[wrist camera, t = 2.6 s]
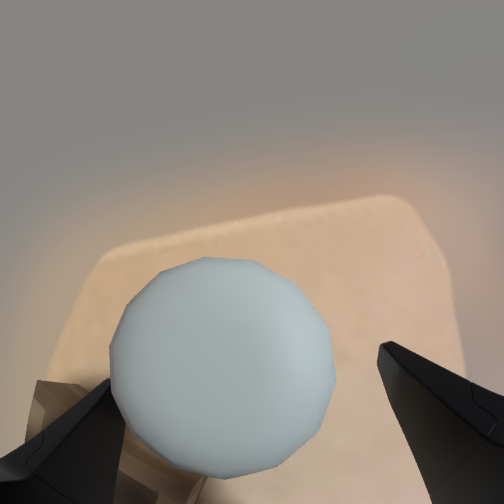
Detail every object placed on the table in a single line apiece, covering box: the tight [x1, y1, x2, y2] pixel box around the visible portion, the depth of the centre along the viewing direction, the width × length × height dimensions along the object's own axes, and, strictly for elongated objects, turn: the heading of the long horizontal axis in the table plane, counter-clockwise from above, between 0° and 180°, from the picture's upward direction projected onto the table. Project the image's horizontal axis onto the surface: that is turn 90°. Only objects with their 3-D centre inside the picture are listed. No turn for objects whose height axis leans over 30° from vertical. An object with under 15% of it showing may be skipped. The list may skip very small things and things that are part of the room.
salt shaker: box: [109, 257, 336, 480], centre depth 10 cm, size 6×6×13 cm
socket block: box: [25, 380, 207, 504], centre depth 10 cm, size 11×11×4 cm
